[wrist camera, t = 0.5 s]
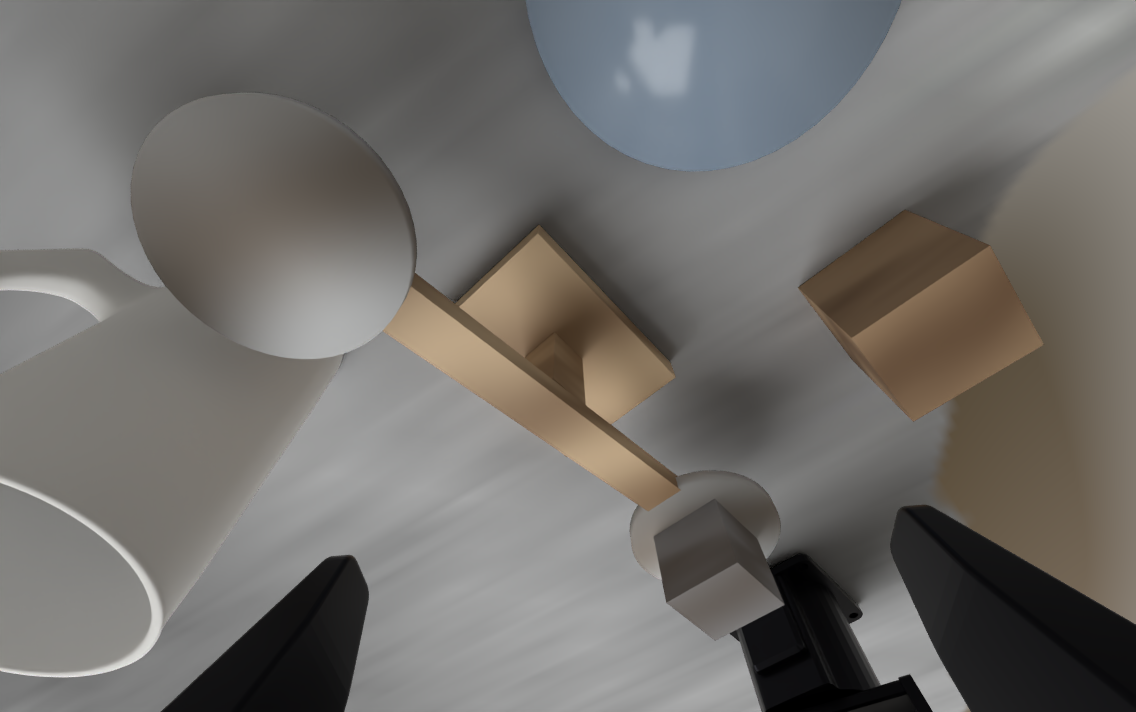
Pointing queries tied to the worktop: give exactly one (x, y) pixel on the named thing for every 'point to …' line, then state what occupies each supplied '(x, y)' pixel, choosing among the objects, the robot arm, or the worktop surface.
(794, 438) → the worktop surface
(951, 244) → the block
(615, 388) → the balance
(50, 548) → the mug
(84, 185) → the worktop surface
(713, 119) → the dish
